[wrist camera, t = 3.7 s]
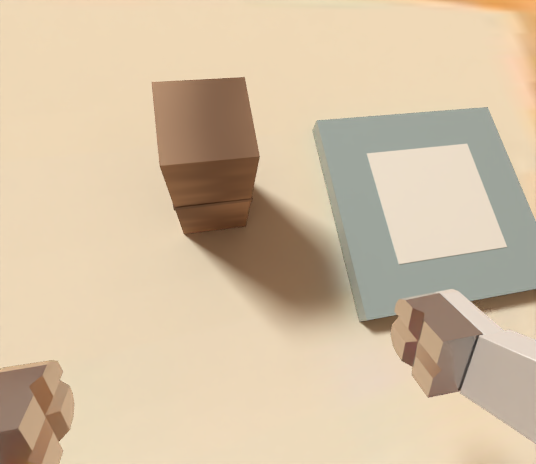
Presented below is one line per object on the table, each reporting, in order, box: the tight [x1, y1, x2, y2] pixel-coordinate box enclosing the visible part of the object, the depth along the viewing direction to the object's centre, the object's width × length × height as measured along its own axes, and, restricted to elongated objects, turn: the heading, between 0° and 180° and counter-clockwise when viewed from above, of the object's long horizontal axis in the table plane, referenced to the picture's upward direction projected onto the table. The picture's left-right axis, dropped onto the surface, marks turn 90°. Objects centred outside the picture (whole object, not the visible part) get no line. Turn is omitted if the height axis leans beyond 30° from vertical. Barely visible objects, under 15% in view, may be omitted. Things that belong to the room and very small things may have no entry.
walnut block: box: [152, 77, 260, 234], centre depth 19 cm, size 4×4×9 cm
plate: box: [313, 107, 536, 322], centre depth 24 cm, size 14×14×1 cm
